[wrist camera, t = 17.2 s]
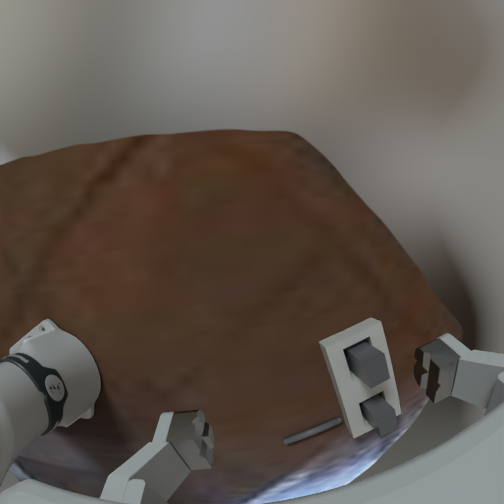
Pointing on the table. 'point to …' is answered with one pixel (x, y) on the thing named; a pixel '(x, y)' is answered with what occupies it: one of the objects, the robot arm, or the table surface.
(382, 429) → the power strip
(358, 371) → the plug
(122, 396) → the table surface
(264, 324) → the table surface
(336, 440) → the table surface
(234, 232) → the table surface
